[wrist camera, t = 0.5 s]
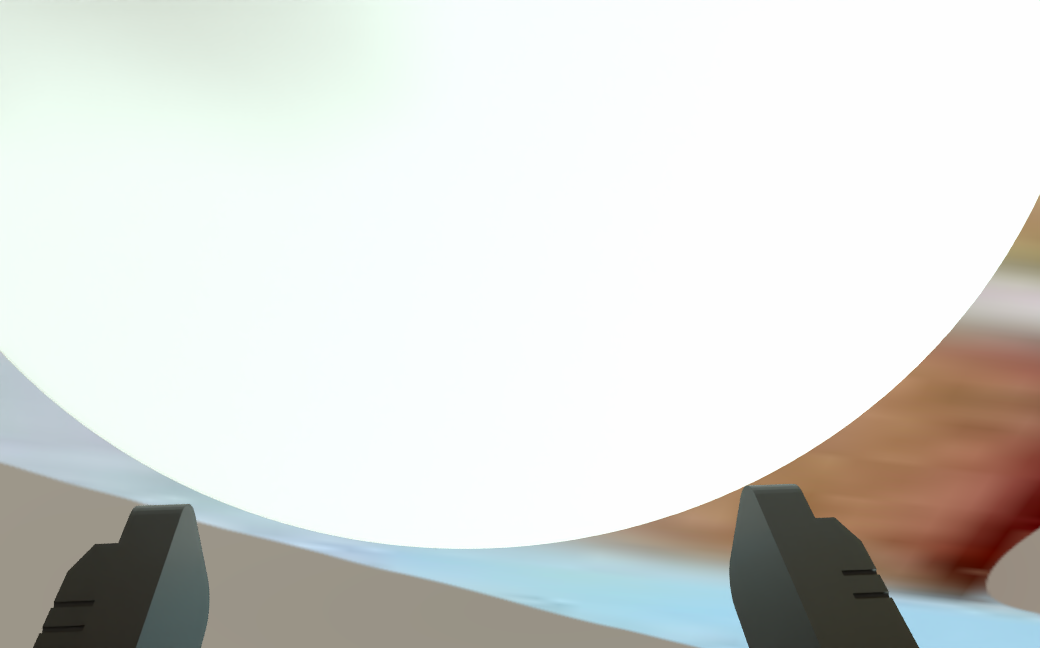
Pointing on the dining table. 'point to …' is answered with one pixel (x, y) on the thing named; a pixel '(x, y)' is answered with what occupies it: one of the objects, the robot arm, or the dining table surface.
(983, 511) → the dining table surface
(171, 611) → the robot arm
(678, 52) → the plate stack
